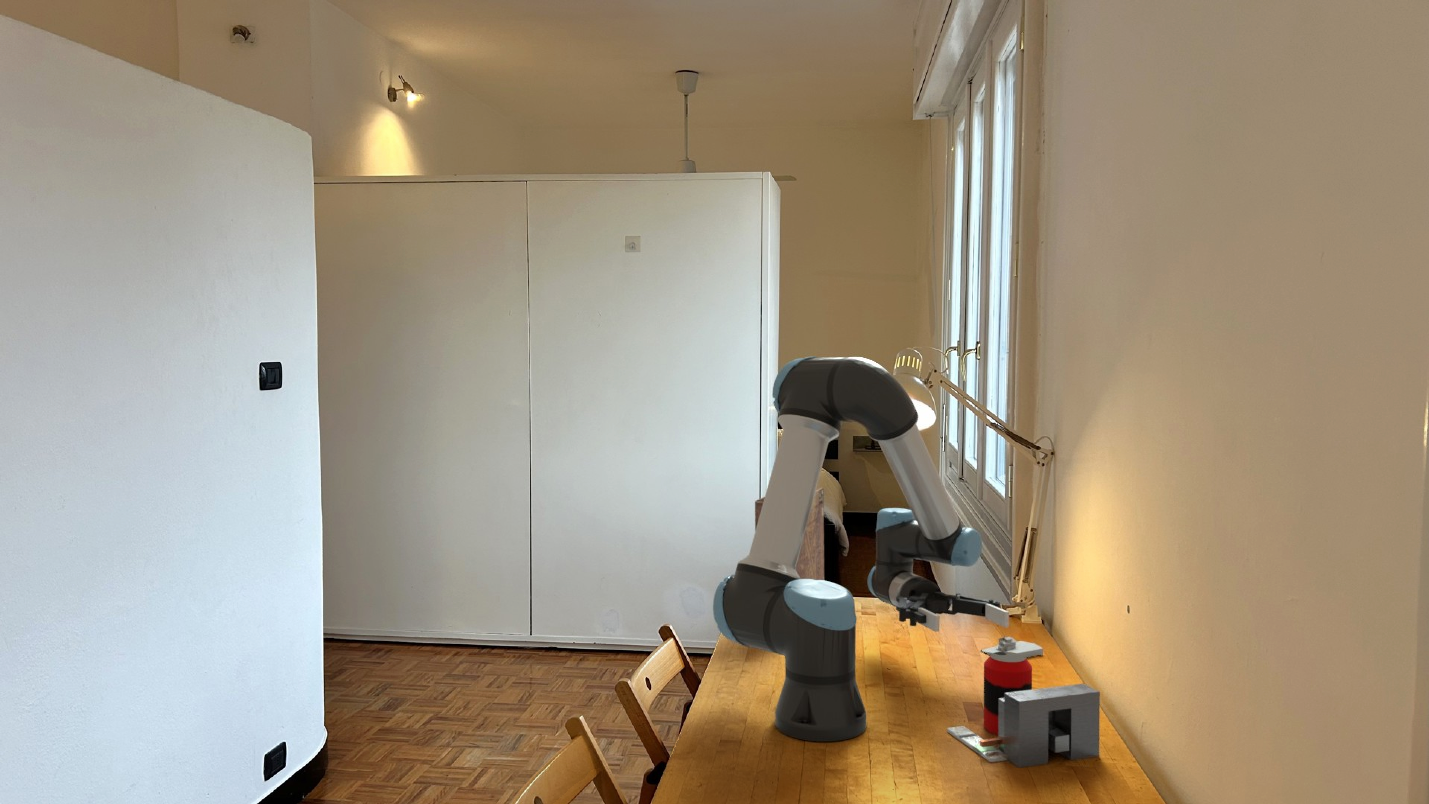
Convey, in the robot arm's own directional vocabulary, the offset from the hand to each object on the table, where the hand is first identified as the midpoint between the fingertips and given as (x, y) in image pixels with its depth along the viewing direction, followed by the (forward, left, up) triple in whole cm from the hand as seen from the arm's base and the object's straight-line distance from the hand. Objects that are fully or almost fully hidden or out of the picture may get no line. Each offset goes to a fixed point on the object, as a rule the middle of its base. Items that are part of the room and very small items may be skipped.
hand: (972, 621), depth 176 cm
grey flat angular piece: (+23, +25, -16) cm, 38 cm away
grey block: (-2, -23, -14) cm, 27 cm away
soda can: (0, -12, -15) cm, 19 cm away
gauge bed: (-2, -18, -15) cm, 23 cm away
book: (-11, +59, -15) cm, 62 cm away
